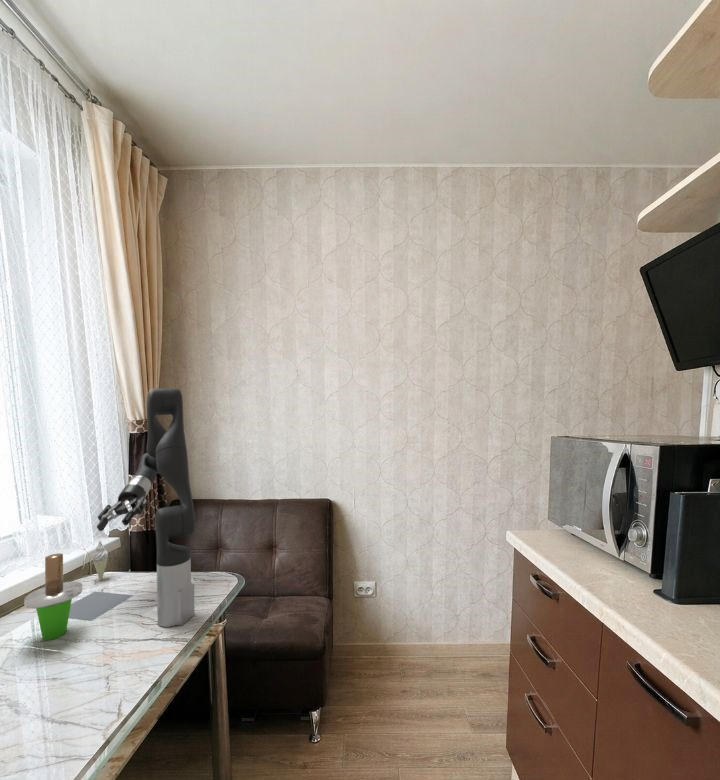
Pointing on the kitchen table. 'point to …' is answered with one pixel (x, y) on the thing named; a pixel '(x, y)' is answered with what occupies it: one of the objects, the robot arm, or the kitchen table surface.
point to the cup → (54, 620)
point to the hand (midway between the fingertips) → (111, 526)
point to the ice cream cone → (100, 560)
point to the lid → (53, 586)
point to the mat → (95, 605)
